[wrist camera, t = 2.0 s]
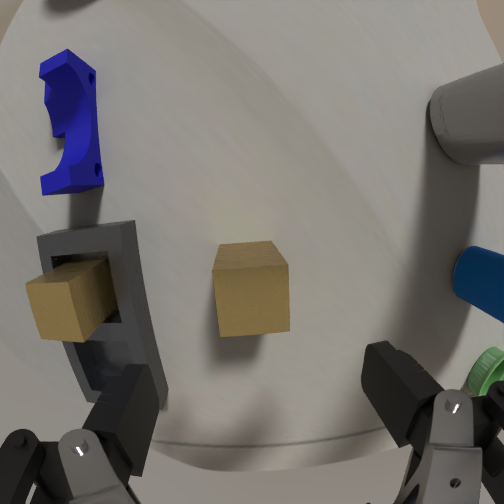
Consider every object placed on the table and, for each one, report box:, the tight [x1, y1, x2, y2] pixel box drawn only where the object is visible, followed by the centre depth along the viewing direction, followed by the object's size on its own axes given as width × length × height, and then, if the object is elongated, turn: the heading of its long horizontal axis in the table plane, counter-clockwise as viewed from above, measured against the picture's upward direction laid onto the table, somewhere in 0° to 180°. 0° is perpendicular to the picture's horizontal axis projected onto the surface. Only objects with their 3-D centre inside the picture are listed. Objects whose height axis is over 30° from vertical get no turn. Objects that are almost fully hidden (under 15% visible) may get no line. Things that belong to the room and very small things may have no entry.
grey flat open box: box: [37, 220, 168, 410], centre depth 23 cm, size 9×18×4 cm, turn 4°
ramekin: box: [467, 347, 504, 397], centre depth 29 cm, size 9×9×4 cm
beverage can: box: [453, 246, 504, 323], centre depth 20 cm, size 6×6×12 cm
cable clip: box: [39, 49, 104, 196], centre depth 18 cm, size 12×4×6 cm, turn 9°
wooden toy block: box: [212, 241, 290, 337], centre depth 21 cm, size 4×4×8 cm
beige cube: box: [25, 255, 118, 342], centre depth 19 cm, size 4×4×8 cm
